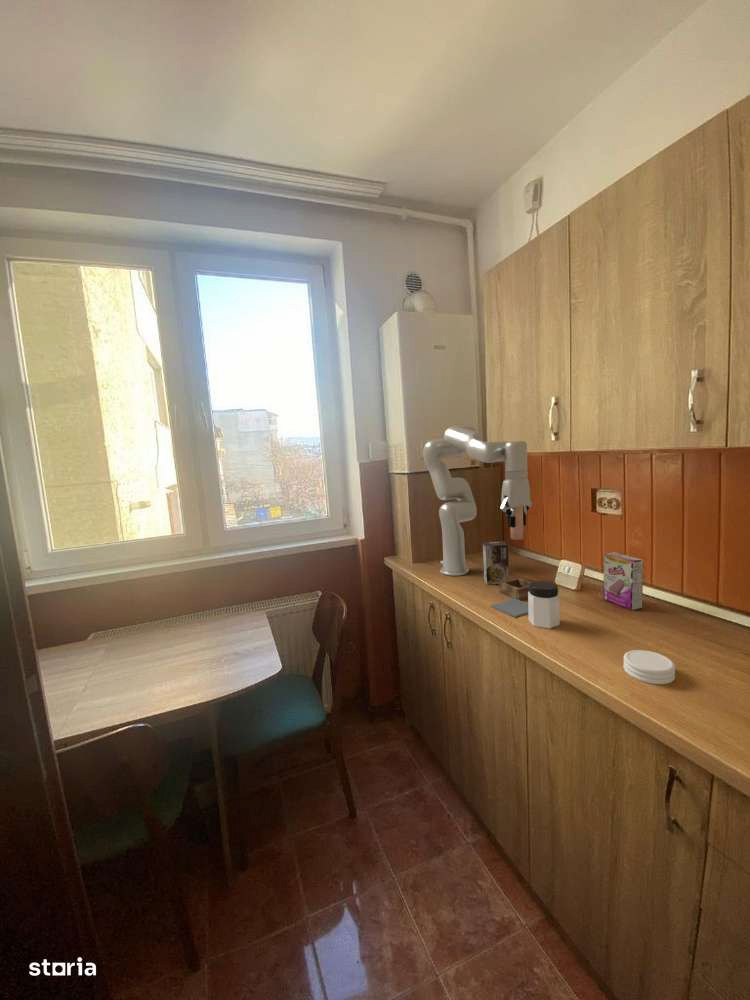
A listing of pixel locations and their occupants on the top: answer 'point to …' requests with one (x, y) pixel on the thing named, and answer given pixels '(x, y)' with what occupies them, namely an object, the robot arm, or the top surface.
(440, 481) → the robot arm
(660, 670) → the coaster
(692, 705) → the top surface
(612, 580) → the candy bar box
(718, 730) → the top surface
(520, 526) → the peg
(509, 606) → the mat
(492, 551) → the coffee box
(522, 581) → the brown square box
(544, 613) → the jar
